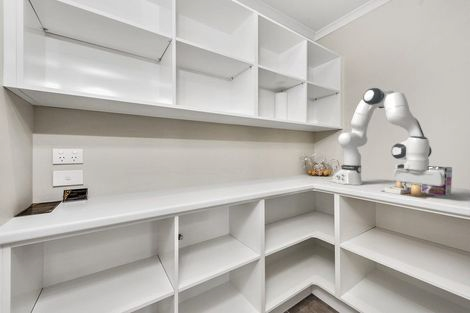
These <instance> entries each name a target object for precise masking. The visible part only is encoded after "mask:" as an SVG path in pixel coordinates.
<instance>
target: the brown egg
mask: <svg viewBox="0 0 470 313" xmlns="http://www.w3.org/2000/svg"><path fill="white" fill-rule="evenodd" d="M410 188H411V195H412V196H418V197H421V193H422V184H416V183H410Z"/></svg>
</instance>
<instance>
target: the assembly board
mask: <svg viewBox="0 0 470 313" xmlns="http://www.w3.org/2000/svg"><path fill="white" fill-rule="evenodd" d="M381 192H383V193H388V194H390V193H389V192H385V189H384V190H381ZM392 194H394V195H396V194H395V193H392ZM398 195H400V196H406V197H413V198H418V199H424V200H426V199H429V198H433V197H436V194H435V195H434V194H427V193H422V192H421V197H418V196H412V195H411V192H409V193H405V194H398Z"/></svg>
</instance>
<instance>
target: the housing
mask: <svg viewBox="0 0 470 313" xmlns="http://www.w3.org/2000/svg"><path fill="white" fill-rule="evenodd" d="M384 190H385V192H384V193H387V192H389V193H388V194H393V193H395V194H394V195H399V194H405V193H409V192H411V187H409V190H408V191H407V190H404V186H403V185H402V182H400V181H396V185H392V186H385V187H384Z"/></svg>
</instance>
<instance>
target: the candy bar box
mask: <svg viewBox="0 0 470 313" xmlns="http://www.w3.org/2000/svg"><path fill="white" fill-rule="evenodd" d="M429 167H436V168H437V167H439V168H441V170H442V169H443V170H444V171H445V175H444V185H443V186H432V188H431V189H430V190H429V194H430V193H431V194H435V195H436V194H438V195H442V196H451V195H452V178H453V177H452V176H453V174H452V173H453V167H450V166H437V165H436V166H435V165H433V166H432V165H429ZM435 170H437V169H435ZM427 189H428V187H427V185H425V184H421V192H424V190H427Z"/></svg>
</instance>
